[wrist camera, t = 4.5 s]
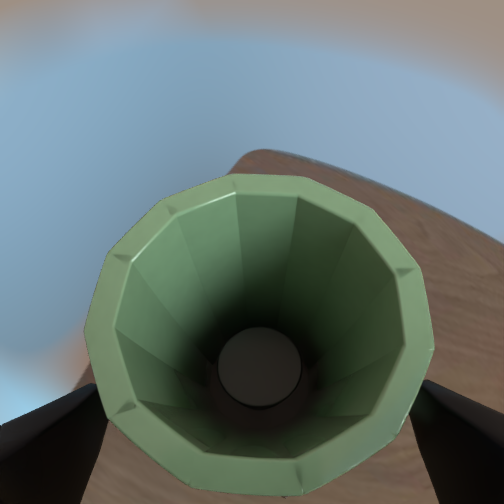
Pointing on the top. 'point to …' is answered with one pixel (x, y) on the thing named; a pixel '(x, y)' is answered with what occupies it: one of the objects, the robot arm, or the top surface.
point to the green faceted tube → (259, 314)
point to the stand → (259, 378)
